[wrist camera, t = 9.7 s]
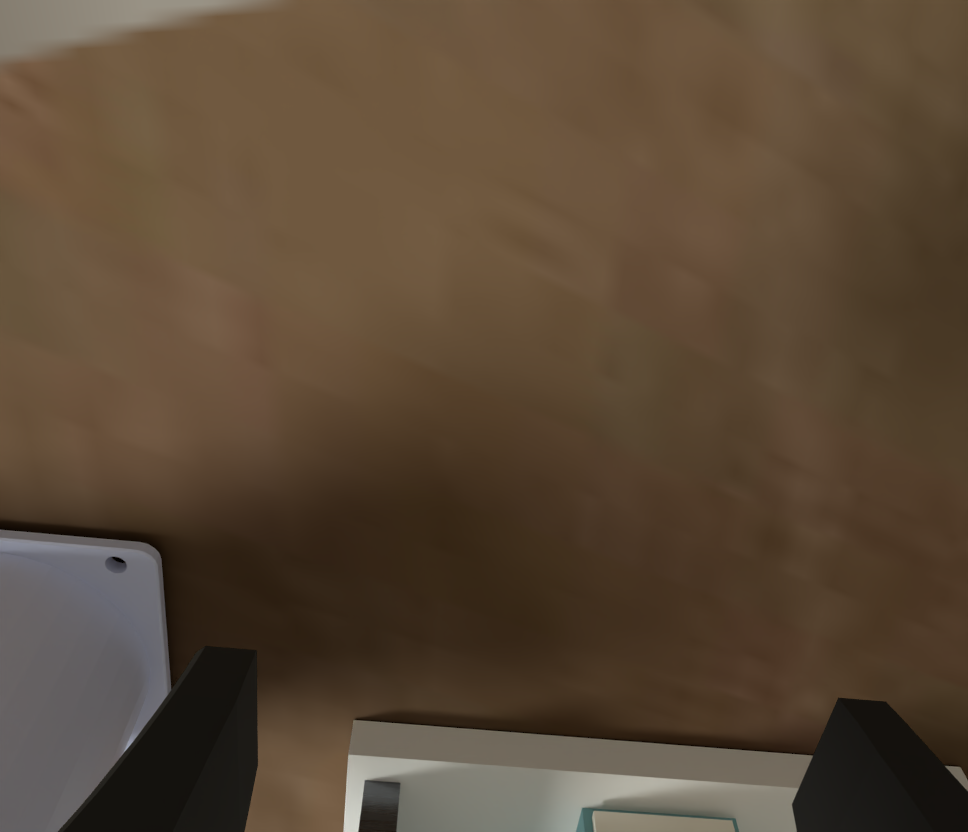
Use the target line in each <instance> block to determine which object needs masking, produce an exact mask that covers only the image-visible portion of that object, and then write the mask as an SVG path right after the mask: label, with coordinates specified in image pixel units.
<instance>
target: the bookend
mask: <svg viewBox="0 0 968 832" xmlns="http://www.w3.org/2000/svg"><path fill="white" fill-rule="evenodd" d="M399 795H400V783H399V782H386V781H372V780H365V783H364V791H363V798H362V806H361V814H360V822H359V830H358V832H396V830H397V818H398V806H399Z"/></svg>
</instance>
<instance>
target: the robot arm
mask: <svg viewBox="0 0 968 832" xmlns="http://www.w3.org/2000/svg"><path fill="white" fill-rule="evenodd" d="M112 557H119V558H121V559H123V560H124V561H125V562H126V563H120V562H117V561H115V560H114V559H113V558H112ZM257 766H258V739H257V650H247V649H235V648H223V647H210V646H205V647H204V648H202V649H201V650H199V651H198V652H196V654H195V655H194V657H193V658H192V660H191V661H190V663H189V664H188V666H187V668H186V669H185V671H184V672H183V674H182V675H181V676H180V678H179V679H178V681H177V682H176V684H175V685H174V687H173V688H172V690H171V679H170V665H169V652H168V639H167V625H166V612H165V599H164V585H163V572H162V559H161V556H160V553H159V552H158V551H157V550H156V549H155V548H154V547H152V546H151V545H149V544H146V543H142V542H135V541H123V540H112V539H101V538H89V537H78V536H67V535H55V534H44V533H33V532H21V531H10V530H0V832H244V831H245V826H246V821H247V816H248V812H249V806H250V801H251V796H252V791H253V786H254V781H255V776H256V771H257ZM792 809H793V814H794V819H795V824H796V829H797V832H968V791H967V790H966V789H965V788H964V787H963V785H962V784H961V783H960V782H959V781H958V780H957V779H956V778H955V777H954V776H953V774H952V773H951V772H950V771H949V770H948V769H947V768H946V767H945V766H944V764H943V763H942V762H941V761H940V760H939V759H938V758H937V757H936V756H935V754H934V753H933V752H932V751H931V750H930V749H929V748H928V747H927V746H926V745H925V743H924V742H923V741H922V740H921V739H920V738H919V737H918V736H917V735H916V734H915V732H914V731H913V730H912V729H911V728H910V727H909V726H908V725H907V724H906V723H905V722H904V720H903V719H902V718H901V717H900V716H899V715H898V714H897V713H896V712H895V711H894V710H893V709H892V708H891V707H890V706H889V705H888V704H887V702H883V701H871V700H859V699H846V698H838V700H837V702H836V705H835V707H834V709H833V711H832V714H831V716H830V718H829V721H828V723H827V725H826V727H825V730H824V732H823V734H822V736H821V739H820V741H819V743H818V746H817V748H816V750H815V752H814V755H813V757H812V759H811V762H810V764H809V766H808V768H807V771H806V773H805V775H804V777H803V780H802V782H801V784H800V787H799V789H798V791H797V793H796V796H795V798H794V800H793V803H792Z"/></svg>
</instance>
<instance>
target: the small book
mask: <svg viewBox="0 0 968 832" xmlns="http://www.w3.org/2000/svg"><path fill="white" fill-rule="evenodd" d="M576 832H739V829H738V826H737V822H736V819H735V818H721V817H707V816H693V815H679V814H665V813H650V812H636V811H622V810H608V809H594V808H582V810H581V814H580V818H579V822H578V826H577V829H576Z"/></svg>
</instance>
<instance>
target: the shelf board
mask: <svg viewBox="0 0 968 832" xmlns="http://www.w3.org/2000/svg"><path fill="white" fill-rule="evenodd" d="M812 757H813V756H812V755H800V754H787V753H774V752H761V751H748V750H735V749H722V748H709V747H696V746H683V745H671V744H658V743H645V742H632V741H619V740H606V739H593V738H580V737H567V736H555V735H542V734H529V733H516V732H503V731H490V730H477V729H464V728H451V727H438V726H426V725H413V724H400V723H387V722H374V721H361V720H354V721H353V727H352V734H351V741H350V747H349V754H348V769H347V785H346V801H345V816H344V832H358V830H359V822H360V814H361V806H362V798H363V791H364V783H365V780H372V781H386V782H399V783H400V795H399V806H398V818H397V830H396V832H576V829H577V826H578V822H579V818H580V814H581V810H582V808H594V809H608V810H622V811H636V812H650V813H665V814H679V815H693V816H707V817H721V818H735V819H736V822H737V826H738V829H739V832H797V829H796V824H795V819H794V814H793V809H792V803H793V800H794V798H795V796H796V793H797V791H798V789H799V787H800V784H801V782H802V780H803V777H804V775H805V773H806V771H807V768H808V766H809V764H810V762H811V759H812ZM945 767H946V768H947V769H948V770H949V771H950V772H951V773H952V774H953V776H954V777H955V778H956V779H957V780H958V781H959V782H960V783H961V784H962V785H963V787H964V788H965V789H966V790H967V791H968V780H967V778H966V776H965V774H964V772H963V771H962V769H961V767H954V766H945Z"/></svg>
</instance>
